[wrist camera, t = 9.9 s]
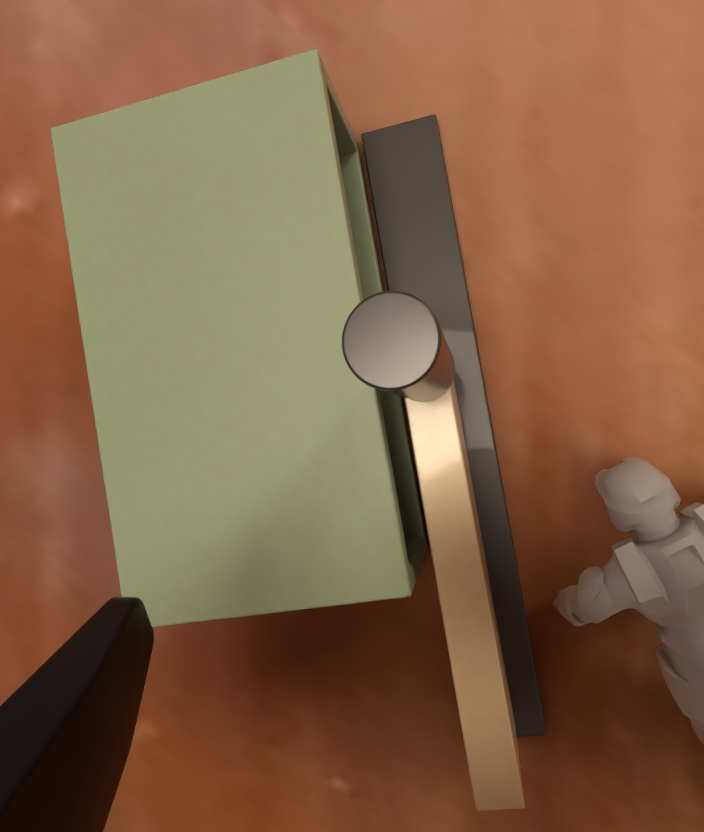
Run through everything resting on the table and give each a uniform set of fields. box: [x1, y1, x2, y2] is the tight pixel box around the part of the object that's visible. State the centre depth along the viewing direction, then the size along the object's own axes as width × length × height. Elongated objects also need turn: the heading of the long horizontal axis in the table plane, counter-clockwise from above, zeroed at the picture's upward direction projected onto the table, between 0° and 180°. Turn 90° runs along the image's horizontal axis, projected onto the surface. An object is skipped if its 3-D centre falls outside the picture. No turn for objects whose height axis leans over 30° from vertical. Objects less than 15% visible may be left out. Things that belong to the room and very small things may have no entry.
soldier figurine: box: [553, 457, 704, 745], centre depth 17 cm, size 6×5×12 cm
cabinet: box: [50, 49, 547, 737], centre depth 19 cm, size 20×10×6 cm, turn 10°
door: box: [342, 290, 525, 811], centre depth 15 cm, size 12×2×10 cm, turn 10°
